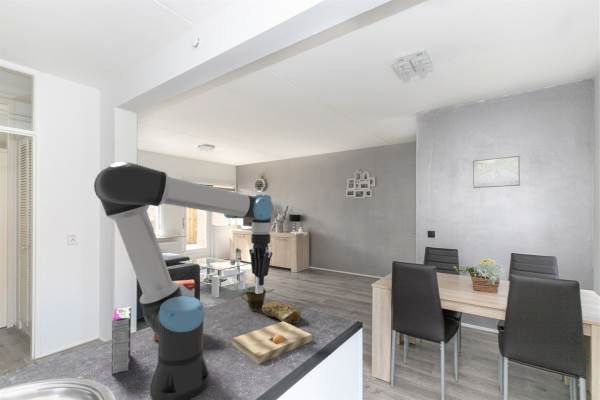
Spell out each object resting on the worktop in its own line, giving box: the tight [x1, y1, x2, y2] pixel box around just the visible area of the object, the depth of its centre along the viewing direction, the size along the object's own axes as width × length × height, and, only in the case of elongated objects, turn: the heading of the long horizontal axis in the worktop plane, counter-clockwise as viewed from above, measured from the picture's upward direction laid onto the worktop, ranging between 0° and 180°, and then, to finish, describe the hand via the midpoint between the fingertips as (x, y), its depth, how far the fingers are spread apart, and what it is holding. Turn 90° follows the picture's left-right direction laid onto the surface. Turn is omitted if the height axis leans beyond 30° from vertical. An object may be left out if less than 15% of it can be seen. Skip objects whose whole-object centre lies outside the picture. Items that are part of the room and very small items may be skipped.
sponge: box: [261, 300, 302, 325], centre depth 132 cm, size 13×8×20 cm
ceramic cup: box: [240, 286, 267, 312], centre depth 142 cm, size 13×10×10 cm
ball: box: [273, 334, 284, 344], centre depth 105 cm, size 4×4×4 cm
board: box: [231, 321, 313, 365], centre depth 107 cm, size 24×17×2 cm
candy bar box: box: [111, 306, 132, 375], centre depth 92 cm, size 11×5×16 cm, turn 30°
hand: (259, 293), depth 113 cm, fingers closed
